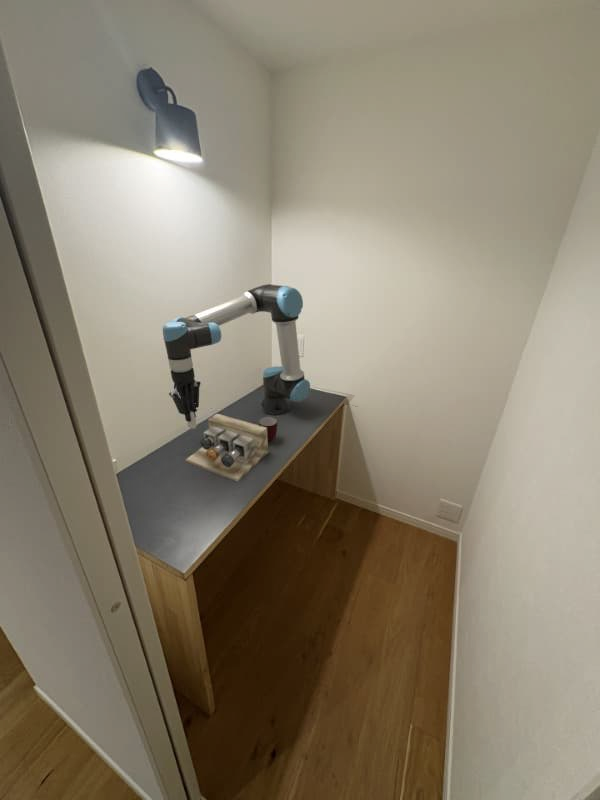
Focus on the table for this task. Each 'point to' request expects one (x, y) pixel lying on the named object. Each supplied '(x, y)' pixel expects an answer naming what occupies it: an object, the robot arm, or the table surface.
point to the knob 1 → (207, 442)
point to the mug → (269, 427)
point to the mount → (233, 446)
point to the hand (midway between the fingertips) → (192, 427)
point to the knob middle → (217, 451)
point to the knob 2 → (232, 456)
